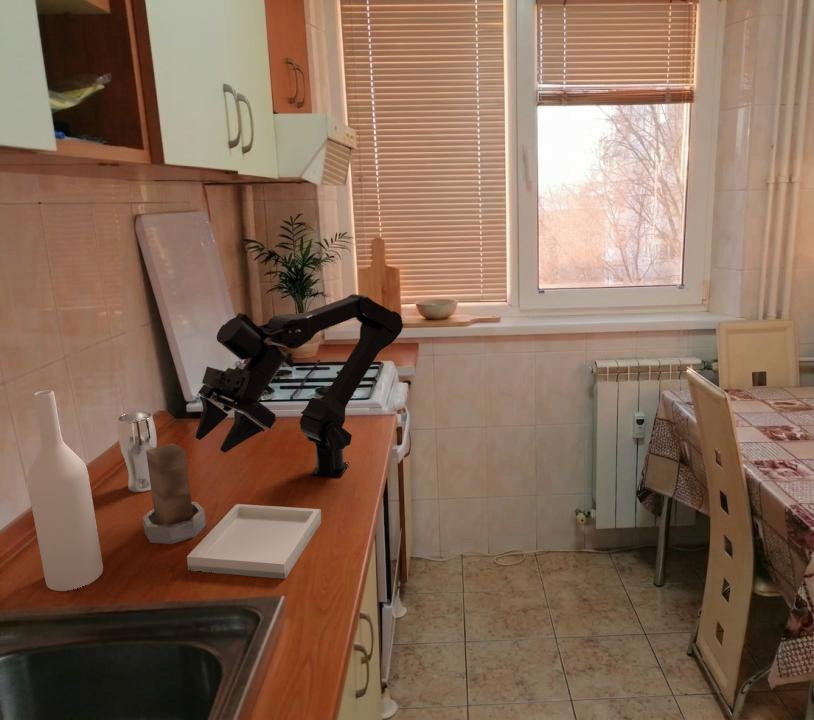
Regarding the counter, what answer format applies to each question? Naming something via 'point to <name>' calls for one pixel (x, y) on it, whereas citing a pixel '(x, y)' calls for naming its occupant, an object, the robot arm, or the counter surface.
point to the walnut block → (169, 484)
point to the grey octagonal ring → (174, 527)
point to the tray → (256, 541)
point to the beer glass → (137, 447)
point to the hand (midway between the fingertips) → (209, 445)
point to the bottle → (62, 506)
